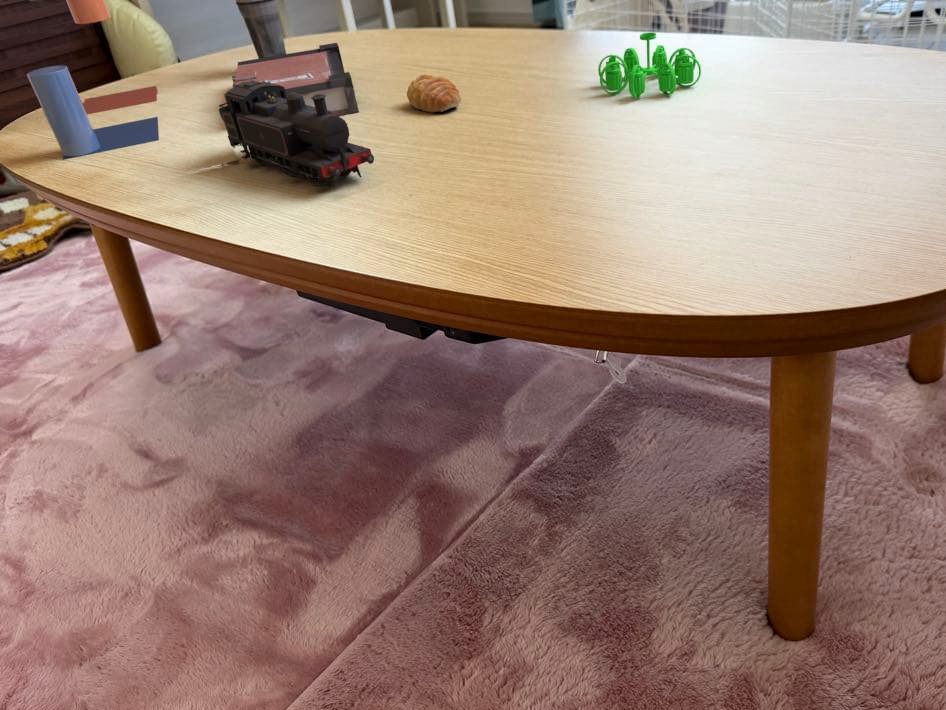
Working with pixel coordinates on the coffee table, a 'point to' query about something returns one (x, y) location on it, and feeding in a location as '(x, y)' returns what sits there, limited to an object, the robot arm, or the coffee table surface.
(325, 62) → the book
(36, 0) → the robot arm
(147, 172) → the coffee table surface
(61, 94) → the tall blue cylinder
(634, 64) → the chandelier
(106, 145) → the blue mat
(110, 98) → the terracotta mat
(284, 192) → the coffee table surface
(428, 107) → the pastry
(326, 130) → the toy train
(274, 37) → the beverage cup
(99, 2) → the tall orange cylinder
